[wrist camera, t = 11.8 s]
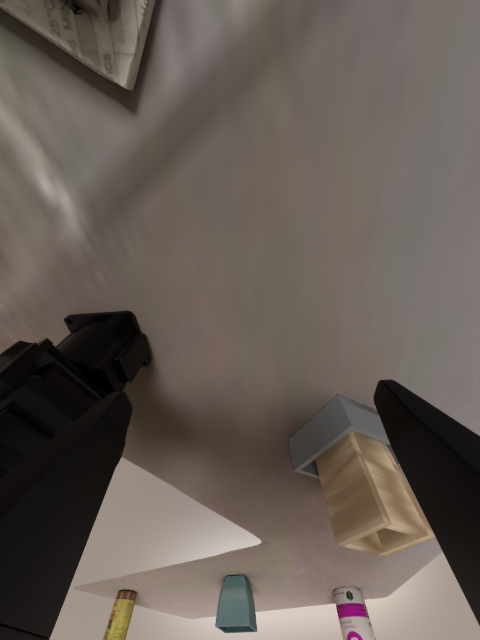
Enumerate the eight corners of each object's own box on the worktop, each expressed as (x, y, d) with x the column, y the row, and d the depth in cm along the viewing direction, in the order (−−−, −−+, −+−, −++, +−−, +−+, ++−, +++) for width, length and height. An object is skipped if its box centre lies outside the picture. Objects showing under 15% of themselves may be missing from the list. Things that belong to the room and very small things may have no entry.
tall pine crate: (310, 441, 30) (336, 544, 22) (341, 416, 28) (384, 522, 19) (346, 454, 32) (384, 556, 23) (378, 431, 29) (435, 536, 20)
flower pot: (249, 571, 63) (249, 626, 55) (256, 580, 67) (257, 632, 59) (218, 573, 64) (214, 627, 56) (226, 582, 68) (224, 633, 60)
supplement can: (328, 588, 70) (346, 680, 57) (354, 584, 67) (379, 680, 54) (340, 594, 73) (360, 682, 60) (365, 591, 70) (392, 682, 57)
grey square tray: (288, 439, 31) (293, 471, 28) (337, 394, 27) (351, 425, 23) (346, 460, 34) (358, 491, 30) (401, 421, 29) (422, 453, 26)
